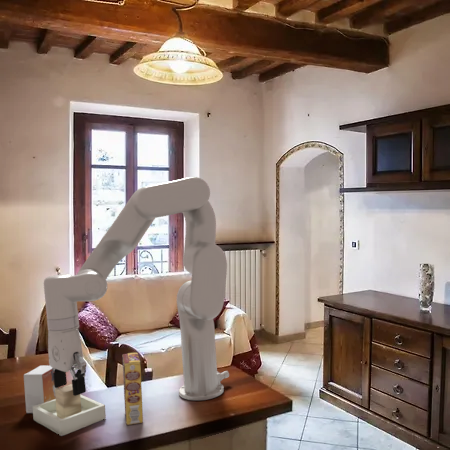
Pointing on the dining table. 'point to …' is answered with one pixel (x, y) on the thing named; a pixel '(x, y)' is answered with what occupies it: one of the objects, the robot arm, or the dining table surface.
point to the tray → (86, 417)
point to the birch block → (67, 402)
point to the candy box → (132, 388)
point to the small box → (39, 387)
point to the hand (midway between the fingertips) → (70, 389)
